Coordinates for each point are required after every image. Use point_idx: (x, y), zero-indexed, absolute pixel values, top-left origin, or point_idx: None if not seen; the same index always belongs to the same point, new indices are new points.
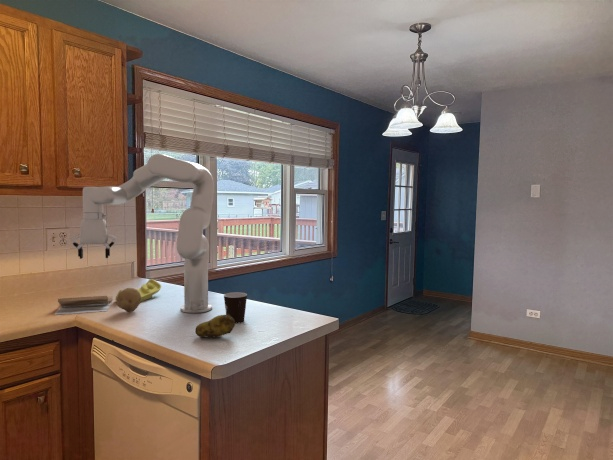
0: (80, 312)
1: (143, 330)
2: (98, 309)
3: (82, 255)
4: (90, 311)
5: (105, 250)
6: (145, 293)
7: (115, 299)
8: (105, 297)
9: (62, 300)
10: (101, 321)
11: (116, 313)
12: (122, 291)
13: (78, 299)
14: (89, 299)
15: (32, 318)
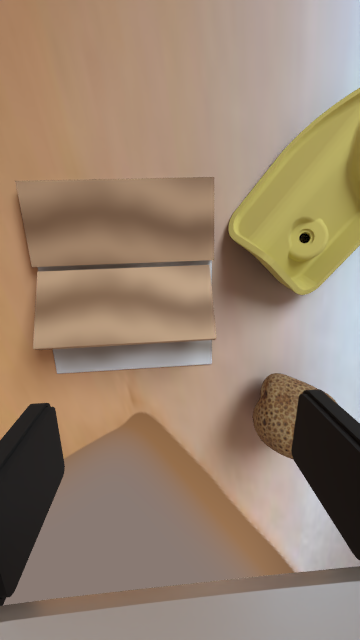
0: (133, 368)
1: (299, 531)
2: (182, 343)
3: (46, 453)
4: (162, 363)
5: (346, 540)
6: (353, 191)
7: (229, 233)
8: (209, 339)
9: (54, 348)
10: (208, 459)
11: (239, 394)
12: (290, 450)
13: (112, 345)
14: (152, 343)
15: (7, 397)
